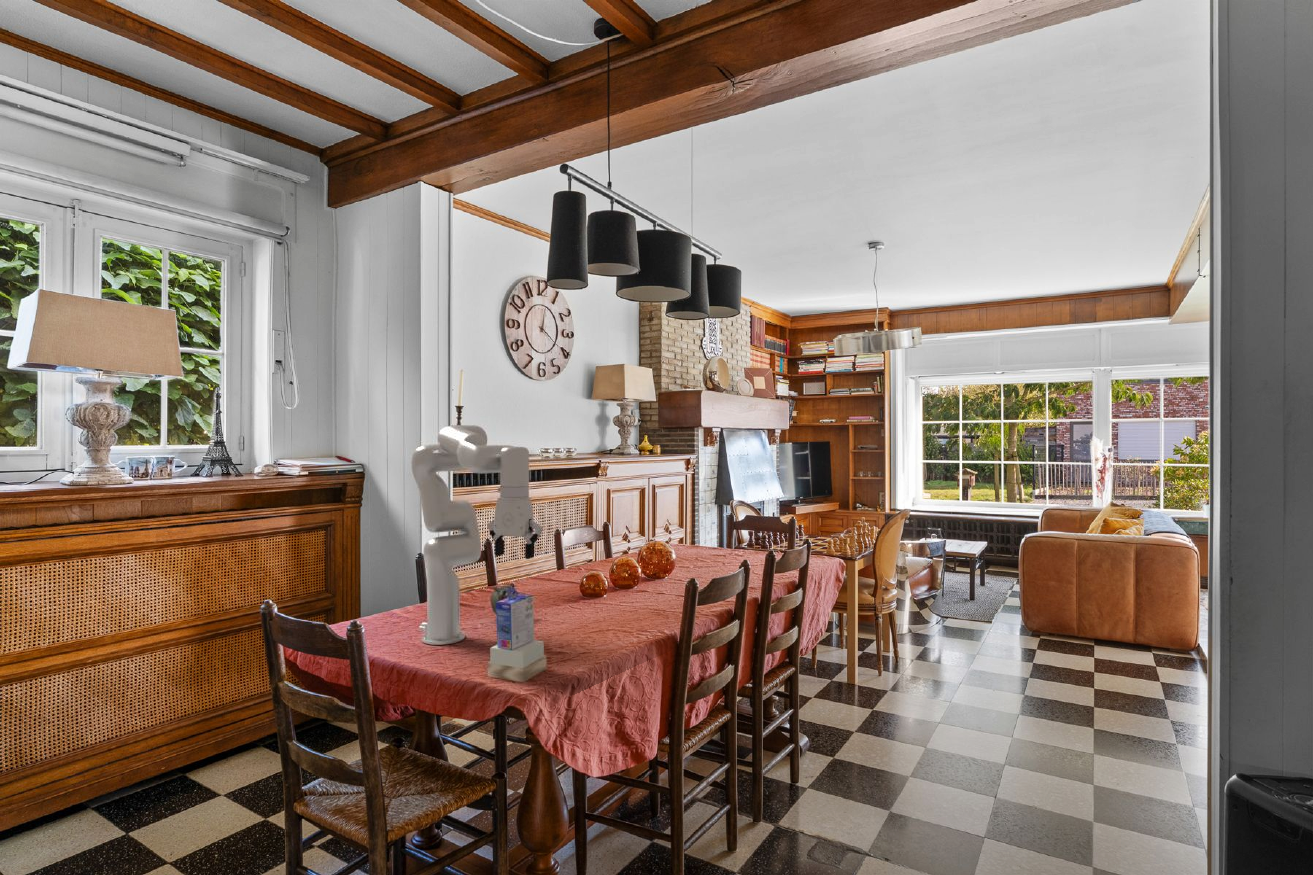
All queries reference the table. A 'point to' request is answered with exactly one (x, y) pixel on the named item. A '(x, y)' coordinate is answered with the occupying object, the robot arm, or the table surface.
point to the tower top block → (517, 654)
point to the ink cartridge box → (515, 620)
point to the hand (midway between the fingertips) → (514, 556)
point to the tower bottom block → (517, 670)
